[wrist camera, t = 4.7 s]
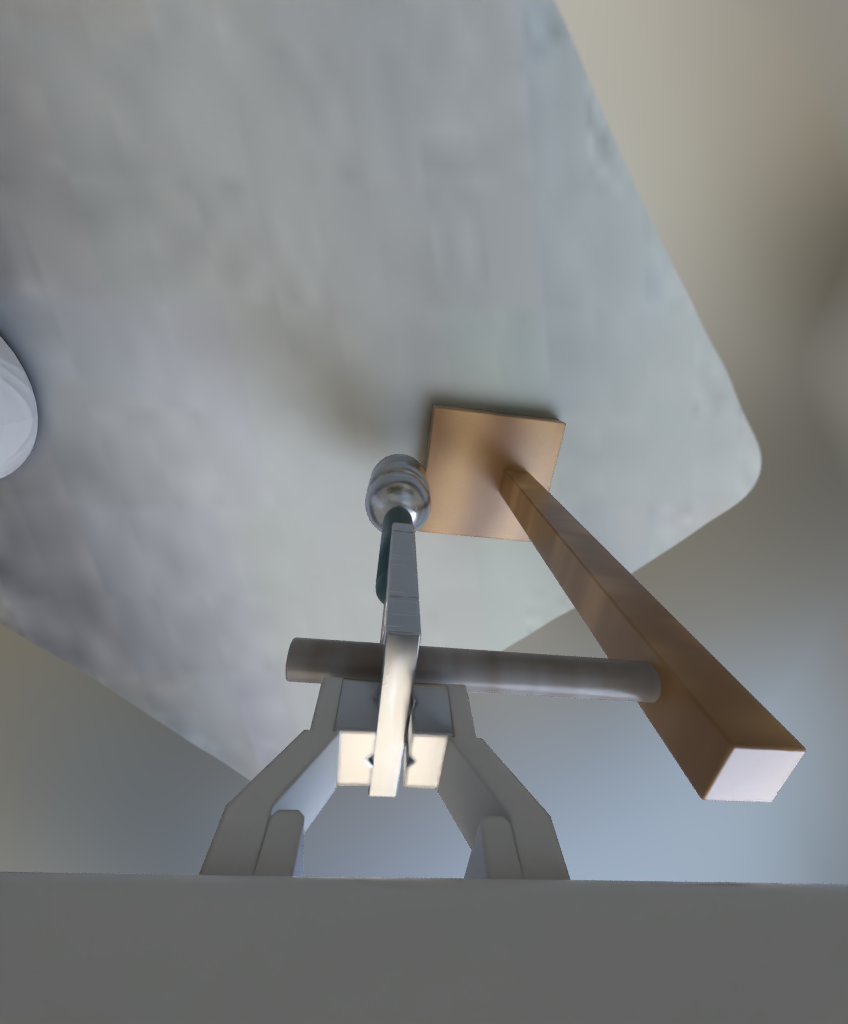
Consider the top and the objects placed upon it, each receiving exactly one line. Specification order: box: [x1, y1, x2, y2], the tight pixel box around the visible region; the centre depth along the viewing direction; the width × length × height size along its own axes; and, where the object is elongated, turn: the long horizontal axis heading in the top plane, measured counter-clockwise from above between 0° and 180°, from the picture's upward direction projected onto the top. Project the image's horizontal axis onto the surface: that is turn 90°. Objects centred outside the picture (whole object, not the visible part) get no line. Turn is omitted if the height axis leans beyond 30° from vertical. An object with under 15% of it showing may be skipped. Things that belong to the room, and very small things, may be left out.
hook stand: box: [286, 405, 806, 802], centre depth 21 cm, size 15×10×25 cm, turn 83°
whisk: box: [365, 454, 432, 797], centre depth 20 cm, size 4×6×21 cm
